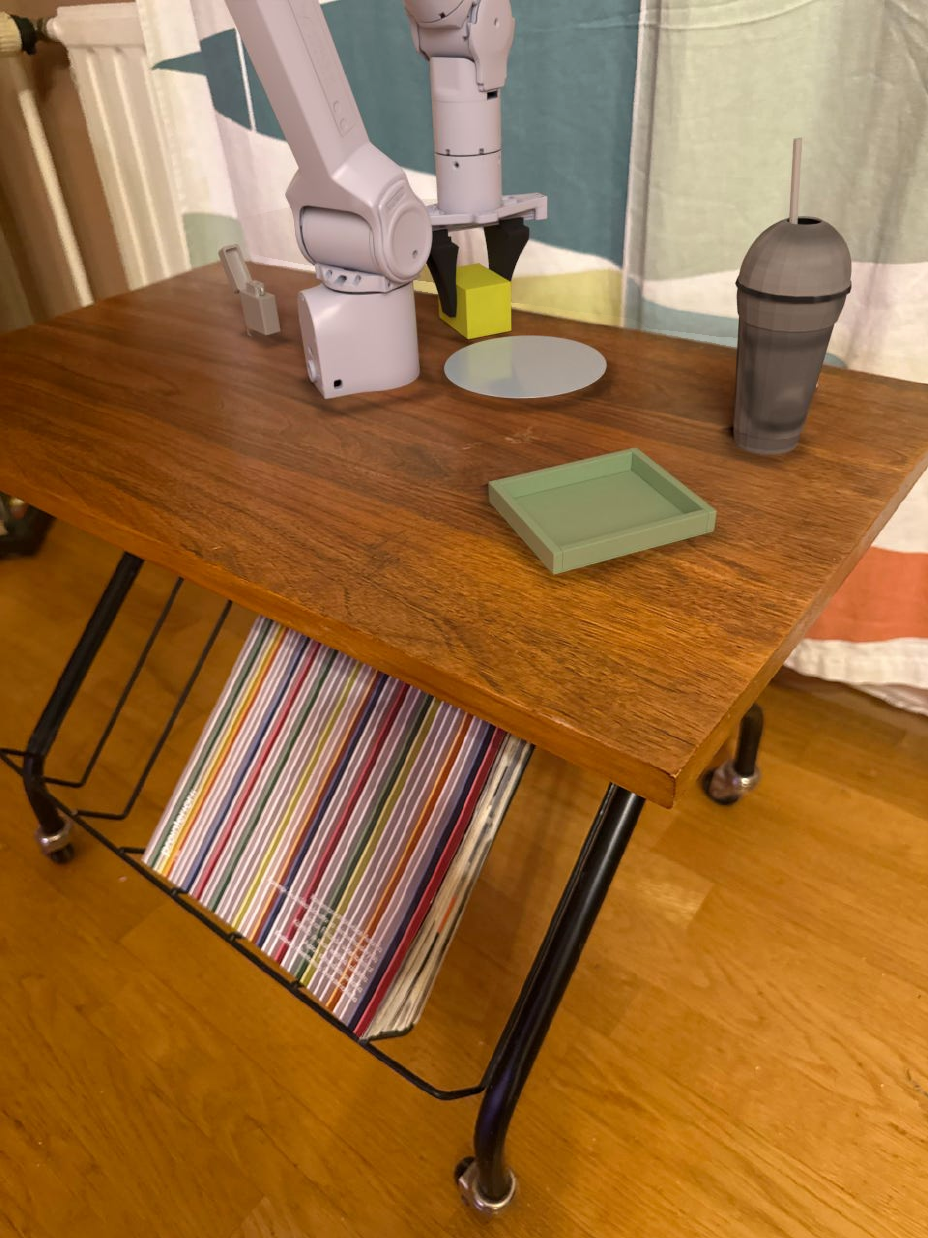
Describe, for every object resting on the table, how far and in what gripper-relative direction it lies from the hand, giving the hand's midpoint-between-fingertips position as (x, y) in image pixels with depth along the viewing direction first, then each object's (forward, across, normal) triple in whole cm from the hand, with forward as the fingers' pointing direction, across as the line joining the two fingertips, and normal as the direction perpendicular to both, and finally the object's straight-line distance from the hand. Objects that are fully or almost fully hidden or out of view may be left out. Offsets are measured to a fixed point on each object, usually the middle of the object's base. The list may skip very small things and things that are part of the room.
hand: (473, 309), depth 85 cm
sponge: (+1, 0, 0) cm, 1 cm away
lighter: (+3, -19, +11) cm, 22 cm away
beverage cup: (+3, +9, -32) cm, 33 cm away
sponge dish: (+2, -7, -35) cm, 36 cm away
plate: (+2, 0, -11) cm, 12 cm away
